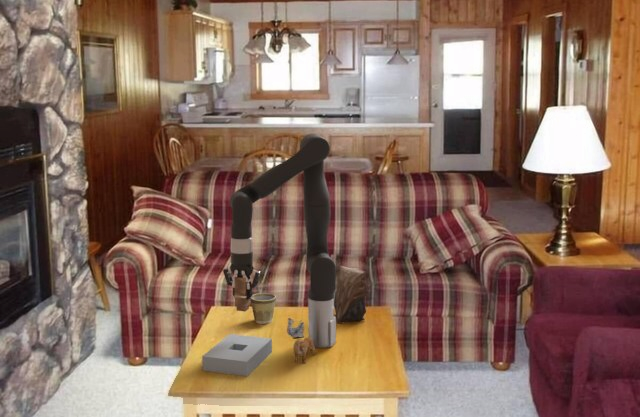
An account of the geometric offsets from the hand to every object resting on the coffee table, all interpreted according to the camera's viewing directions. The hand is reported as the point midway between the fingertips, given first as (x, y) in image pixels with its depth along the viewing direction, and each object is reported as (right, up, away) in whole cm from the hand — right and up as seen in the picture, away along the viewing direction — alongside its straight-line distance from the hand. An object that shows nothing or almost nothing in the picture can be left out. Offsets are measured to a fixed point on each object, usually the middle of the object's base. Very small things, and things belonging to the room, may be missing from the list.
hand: (242, 297), depth 273 cm
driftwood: (+18, -15, +26) cm, 35 cm away
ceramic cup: (+5, -13, +36) cm, 39 cm away
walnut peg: (0, -4, +1) cm, 4 cm away
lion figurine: (+22, -21, -4) cm, 30 cm away
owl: (+37, -13, +37) cm, 54 cm away
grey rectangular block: (-1, -21, -5) cm, 22 cm away
